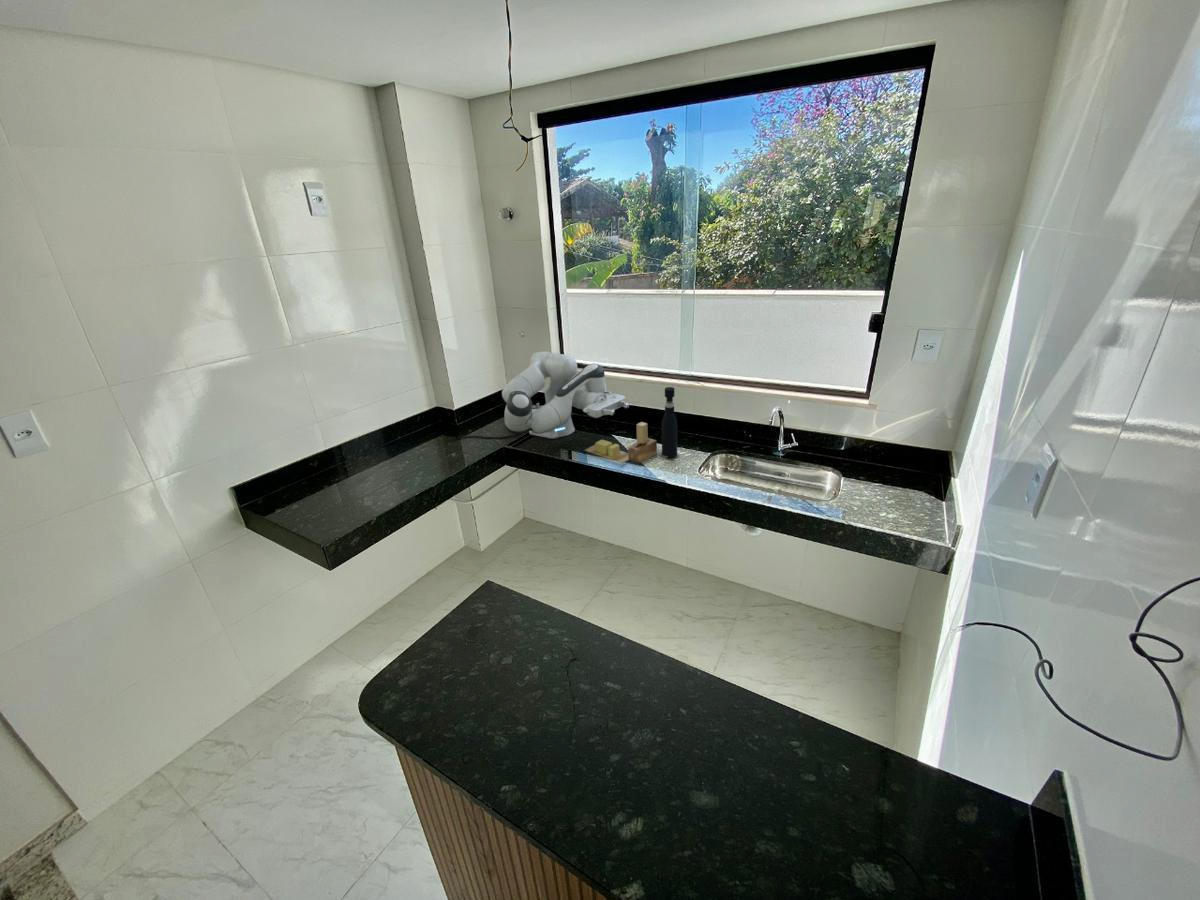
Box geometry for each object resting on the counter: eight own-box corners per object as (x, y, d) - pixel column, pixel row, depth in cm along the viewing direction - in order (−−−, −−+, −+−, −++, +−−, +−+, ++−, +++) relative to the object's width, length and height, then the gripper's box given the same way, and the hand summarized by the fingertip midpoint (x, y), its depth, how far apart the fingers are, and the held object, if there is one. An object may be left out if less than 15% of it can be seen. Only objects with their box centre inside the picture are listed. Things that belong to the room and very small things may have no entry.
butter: (595, 451, 213) (595, 442, 211) (602, 447, 216) (602, 439, 214) (605, 454, 209) (605, 446, 207) (612, 450, 212) (612, 442, 210)
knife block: (628, 461, 204) (627, 446, 201) (645, 451, 212) (645, 437, 209) (639, 465, 201) (639, 450, 197) (656, 455, 208) (656, 440, 205)
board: (584, 452, 215) (584, 450, 215) (597, 445, 221) (597, 442, 220) (622, 465, 201) (622, 463, 201) (635, 457, 207) (635, 455, 207)
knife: (634, 461, 205) (632, 426, 198) (645, 454, 210) (644, 420, 203) (640, 463, 203) (639, 428, 196) (651, 456, 208) (650, 421, 201)
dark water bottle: (659, 454, 208) (658, 388, 195) (671, 450, 211) (671, 384, 198) (667, 460, 203) (667, 392, 190) (680, 456, 206) (680, 389, 192)
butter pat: (608, 455, 208) (608, 447, 206) (615, 451, 211) (615, 443, 209) (613, 457, 207) (612, 448, 205) (619, 453, 209) (619, 444, 208)
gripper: (579, 403, 205) (604, 410, 196) (611, 390, 218) (635, 395, 210) (580, 417, 208) (604, 424, 199) (612, 403, 221) (635, 409, 212)
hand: (620, 409), depth 204 cm, fingers open, 8 cm apart
